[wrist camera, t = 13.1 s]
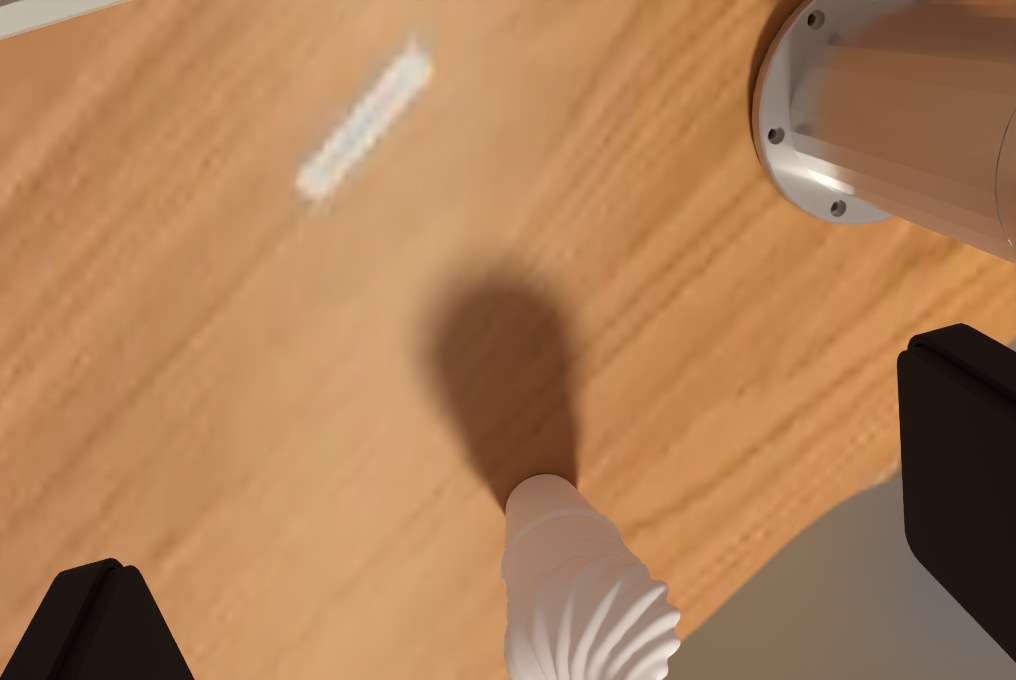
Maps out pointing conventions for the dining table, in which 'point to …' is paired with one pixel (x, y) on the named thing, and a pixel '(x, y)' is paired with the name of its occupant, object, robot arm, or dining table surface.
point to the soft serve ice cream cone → (578, 592)
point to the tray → (44, 13)
